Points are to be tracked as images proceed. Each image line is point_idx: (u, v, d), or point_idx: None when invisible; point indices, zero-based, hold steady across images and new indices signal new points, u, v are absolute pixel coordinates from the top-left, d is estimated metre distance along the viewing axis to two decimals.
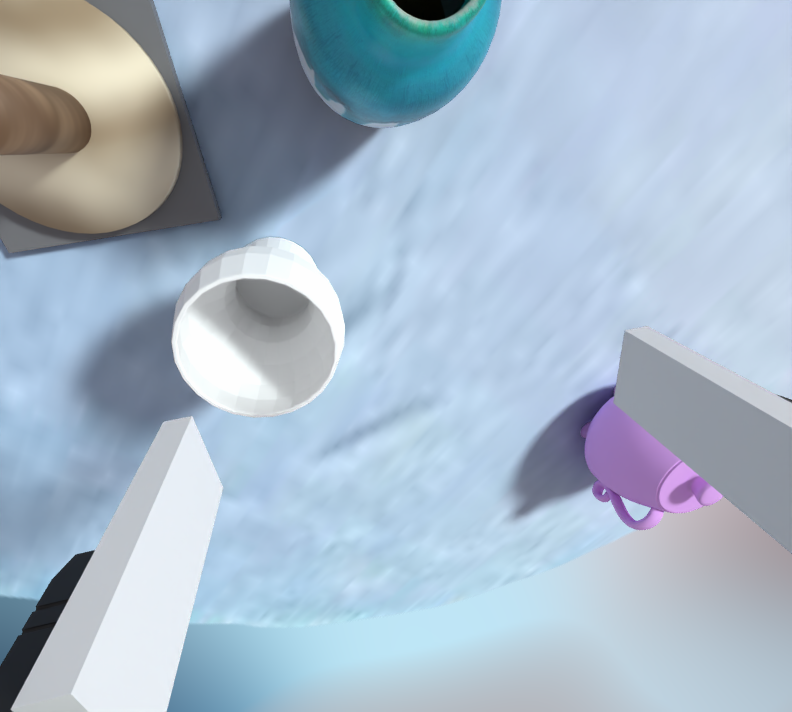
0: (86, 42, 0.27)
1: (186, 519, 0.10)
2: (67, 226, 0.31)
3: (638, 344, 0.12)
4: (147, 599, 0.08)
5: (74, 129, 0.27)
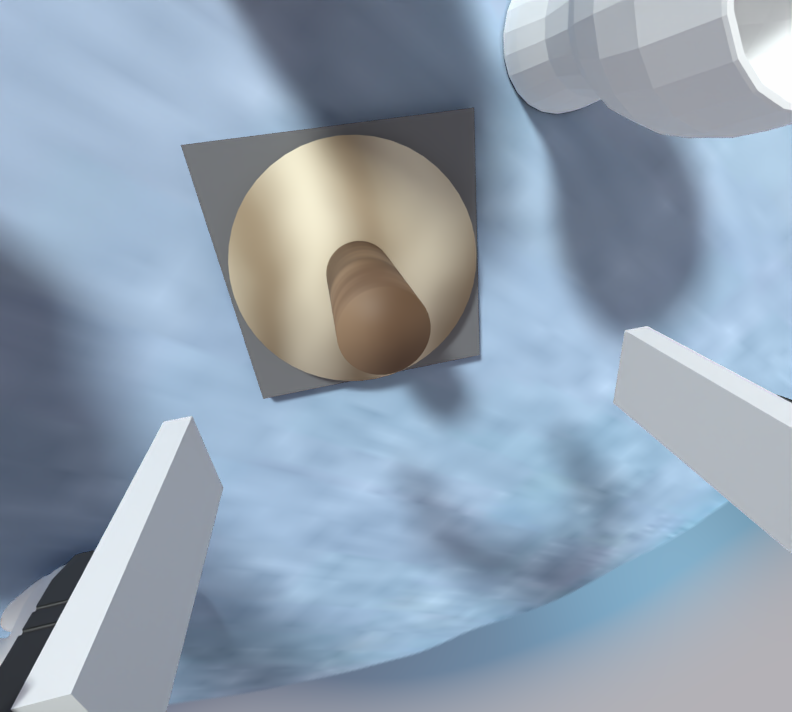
0: (279, 222, 0.23)
1: (186, 519, 0.10)
2: (464, 294, 0.27)
3: (637, 344, 0.12)
4: (147, 599, 0.08)
5: (374, 251, 0.22)
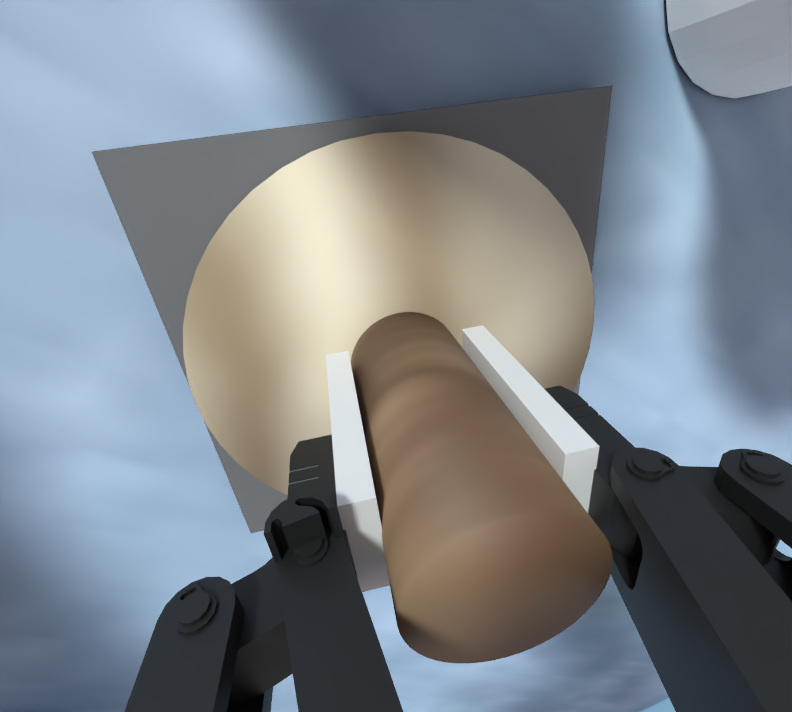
0: (270, 286, 0.13)
1: None
2: (567, 385, 0.17)
3: (467, 342, 0.14)
4: None
5: (441, 341, 0.12)
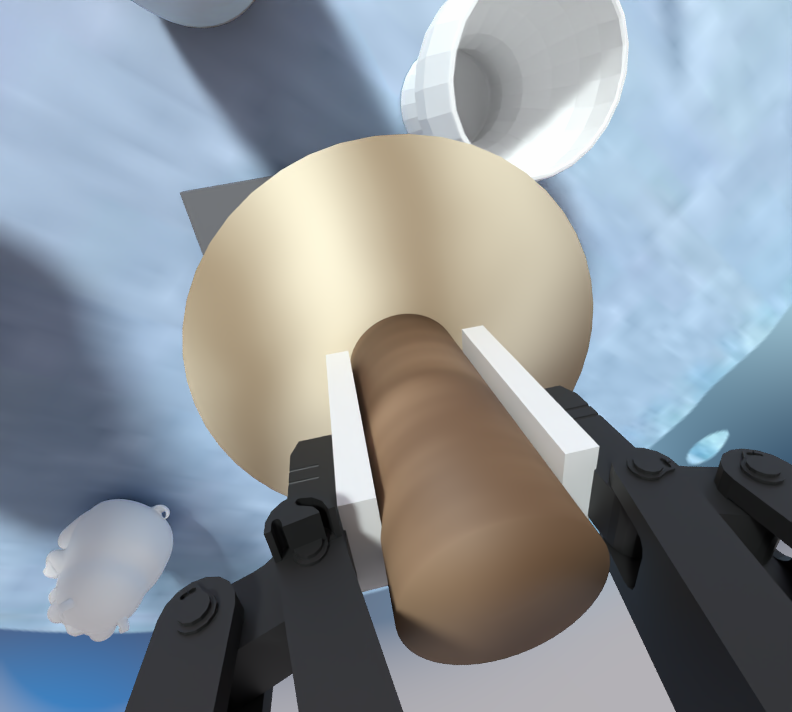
0: (270, 287, 0.13)
1: None
2: (566, 386, 0.17)
3: (467, 342, 0.14)
4: None
5: (440, 343, 0.12)
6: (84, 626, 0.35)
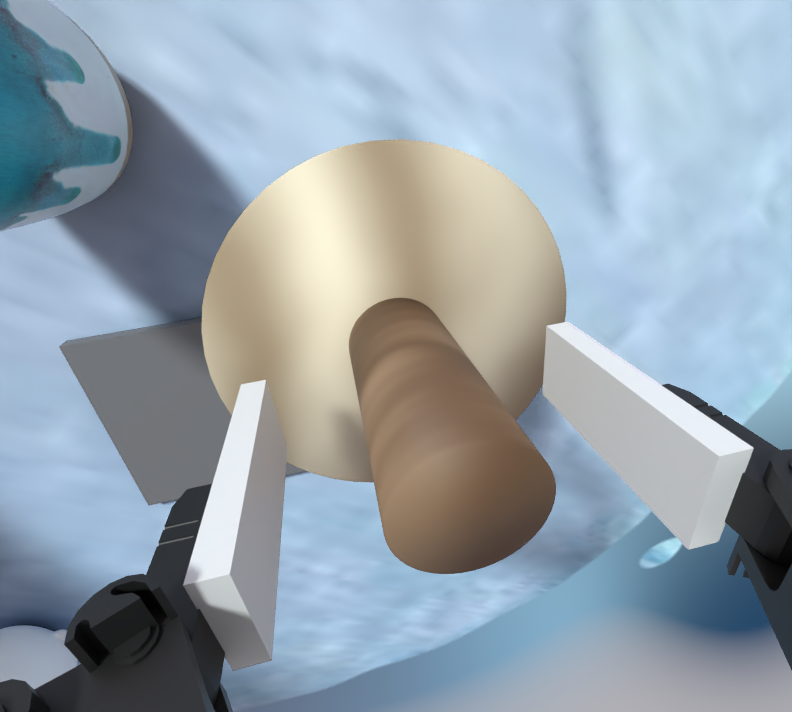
0: (279, 272, 0.15)
1: (271, 466, 0.11)
2: (543, 367, 0.19)
3: (556, 338, 0.13)
4: (257, 521, 0.09)
5: (428, 321, 0.14)
6: None
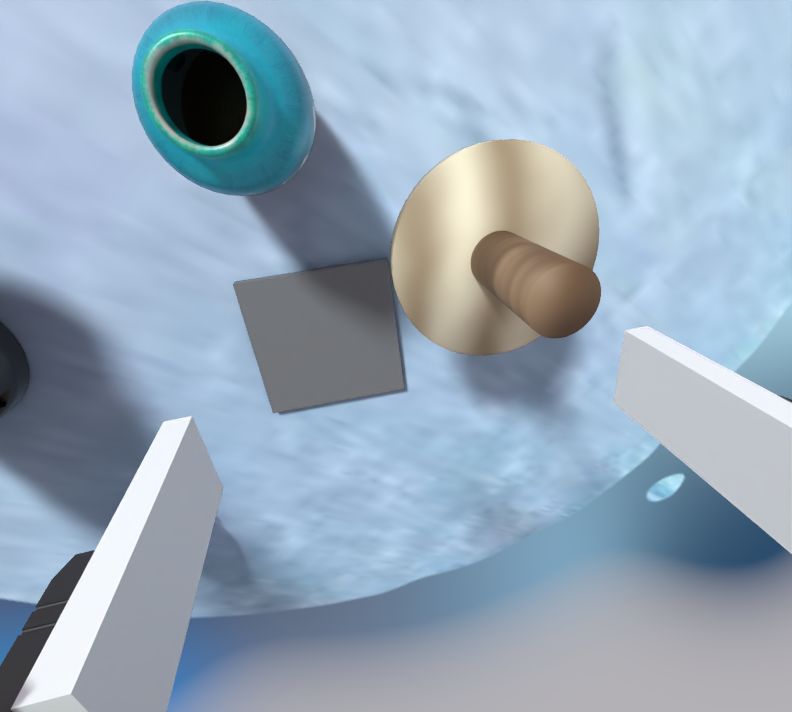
0: (440, 213, 0.27)
1: (186, 519, 0.10)
2: None
3: (637, 344, 0.12)
4: (147, 599, 0.08)
5: (524, 238, 0.26)
6: None
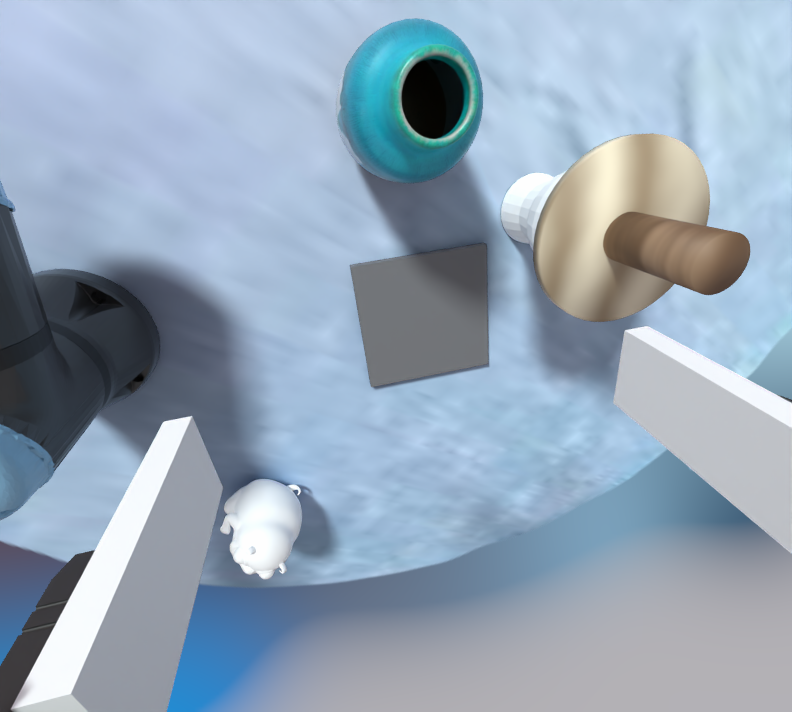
0: (585, 196, 0.32)
1: (186, 519, 0.10)
2: None
3: (638, 344, 0.12)
4: (147, 599, 0.08)
5: None
6: (260, 566, 0.49)
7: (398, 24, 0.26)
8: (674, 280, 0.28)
